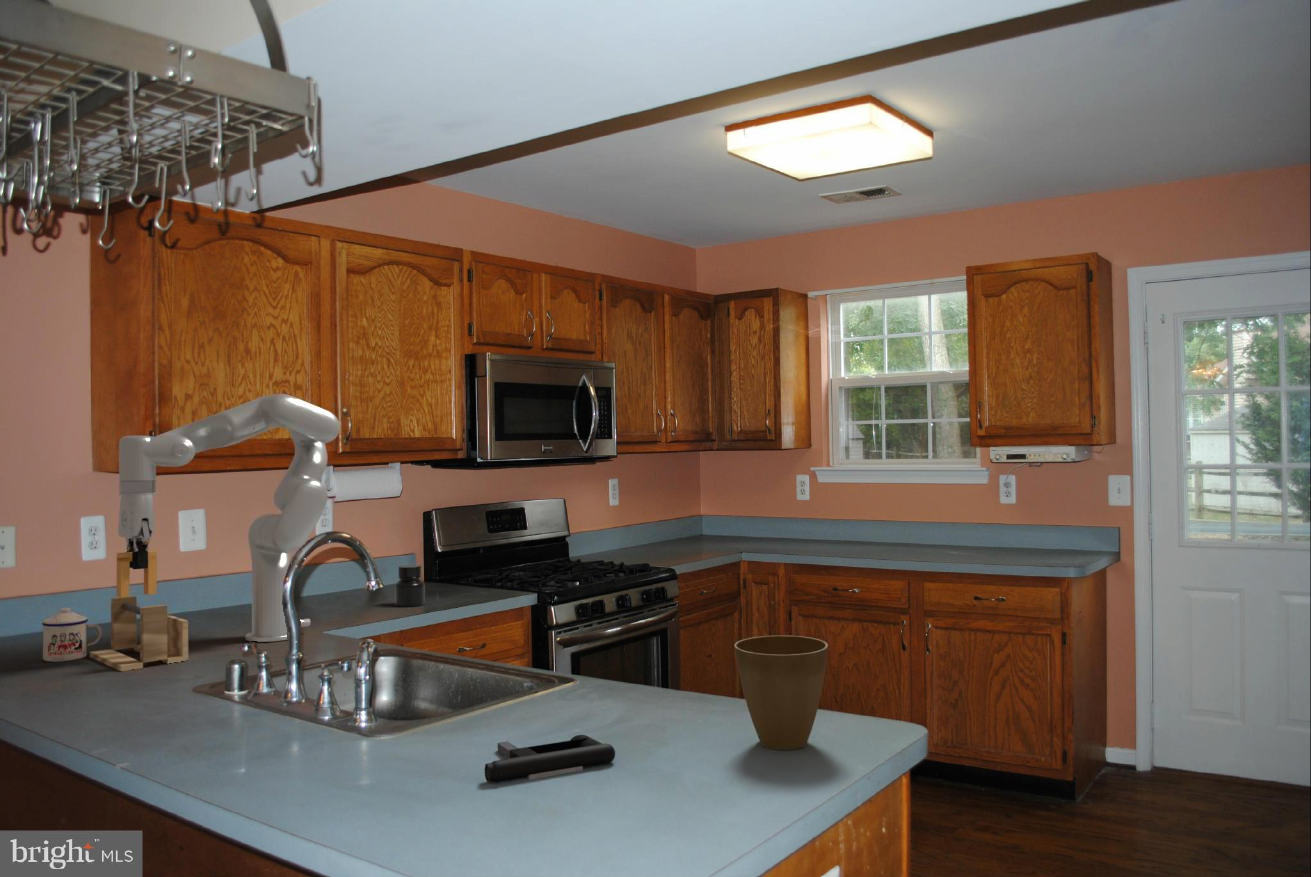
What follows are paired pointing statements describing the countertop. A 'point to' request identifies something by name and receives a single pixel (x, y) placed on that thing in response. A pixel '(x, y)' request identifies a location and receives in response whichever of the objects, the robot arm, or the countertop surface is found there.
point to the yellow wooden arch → (124, 574)
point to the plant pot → (782, 686)
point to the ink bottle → (409, 587)
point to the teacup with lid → (66, 636)
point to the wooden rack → (143, 635)
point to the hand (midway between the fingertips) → (137, 567)
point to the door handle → (548, 759)
